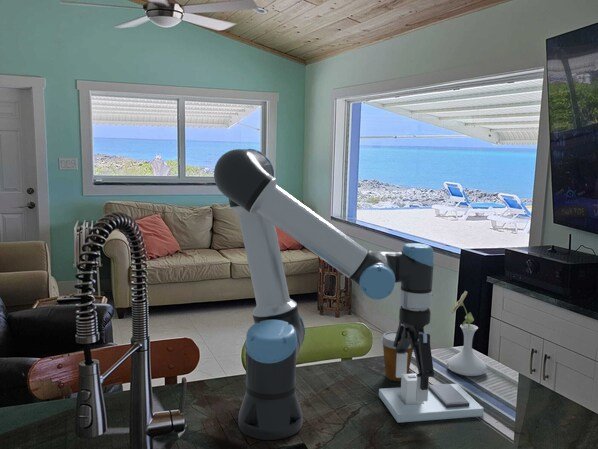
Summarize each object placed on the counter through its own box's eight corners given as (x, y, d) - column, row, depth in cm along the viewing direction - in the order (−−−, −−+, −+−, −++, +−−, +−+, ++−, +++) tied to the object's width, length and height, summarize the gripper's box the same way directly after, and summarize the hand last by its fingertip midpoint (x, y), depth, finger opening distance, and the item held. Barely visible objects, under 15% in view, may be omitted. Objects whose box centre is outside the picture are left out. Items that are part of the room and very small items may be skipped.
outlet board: (397, 422, 127) (398, 414, 126) (378, 395, 140) (379, 388, 140) (483, 416, 131) (483, 408, 130) (456, 390, 144) (457, 383, 144)
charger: (405, 411, 132) (407, 380, 131) (400, 403, 136) (401, 373, 135) (421, 410, 133) (422, 379, 132) (415, 402, 137) (416, 372, 136)
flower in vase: (458, 360, 165) (463, 282, 161) (493, 372, 157) (499, 289, 153) (435, 372, 156) (440, 289, 153) (471, 385, 148) (476, 297, 144)
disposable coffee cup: (416, 384, 148) (418, 342, 146) (382, 383, 148) (383, 342, 146) (410, 370, 157) (412, 331, 156) (377, 369, 157) (379, 330, 156)
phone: (446, 407, 130) (446, 404, 130) (428, 388, 141) (428, 384, 141) (469, 406, 131) (469, 402, 131) (449, 386, 142) (449, 383, 142)
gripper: (452, 322, 119) (446, 411, 122) (410, 292, 144) (406, 367, 147) (421, 323, 118) (415, 413, 121) (383, 293, 142) (380, 368, 145)
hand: (410, 388), depth 134 cm, fingers open, 13 cm apart
